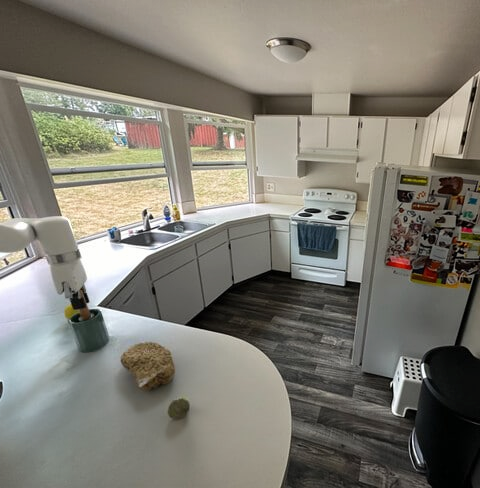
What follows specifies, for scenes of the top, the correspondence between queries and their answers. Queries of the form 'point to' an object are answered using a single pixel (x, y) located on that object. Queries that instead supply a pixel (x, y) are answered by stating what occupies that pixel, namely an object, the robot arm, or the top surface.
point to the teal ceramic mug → (89, 331)
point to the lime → (178, 408)
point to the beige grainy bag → (149, 364)
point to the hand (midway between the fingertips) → (81, 305)
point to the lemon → (70, 311)
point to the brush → (84, 311)
